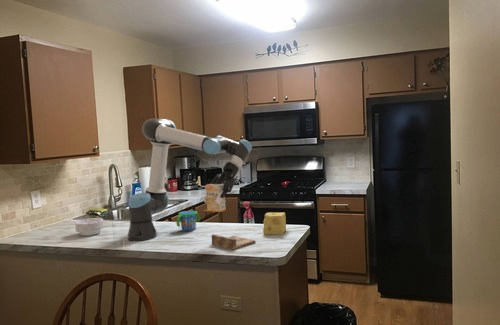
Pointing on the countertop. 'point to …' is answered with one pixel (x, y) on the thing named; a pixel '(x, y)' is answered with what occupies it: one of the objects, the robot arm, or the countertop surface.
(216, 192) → the supplement box
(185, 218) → the snack cup
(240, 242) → the mounting block
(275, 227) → the cheese
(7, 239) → the countertop surface
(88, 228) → the paper bowls
